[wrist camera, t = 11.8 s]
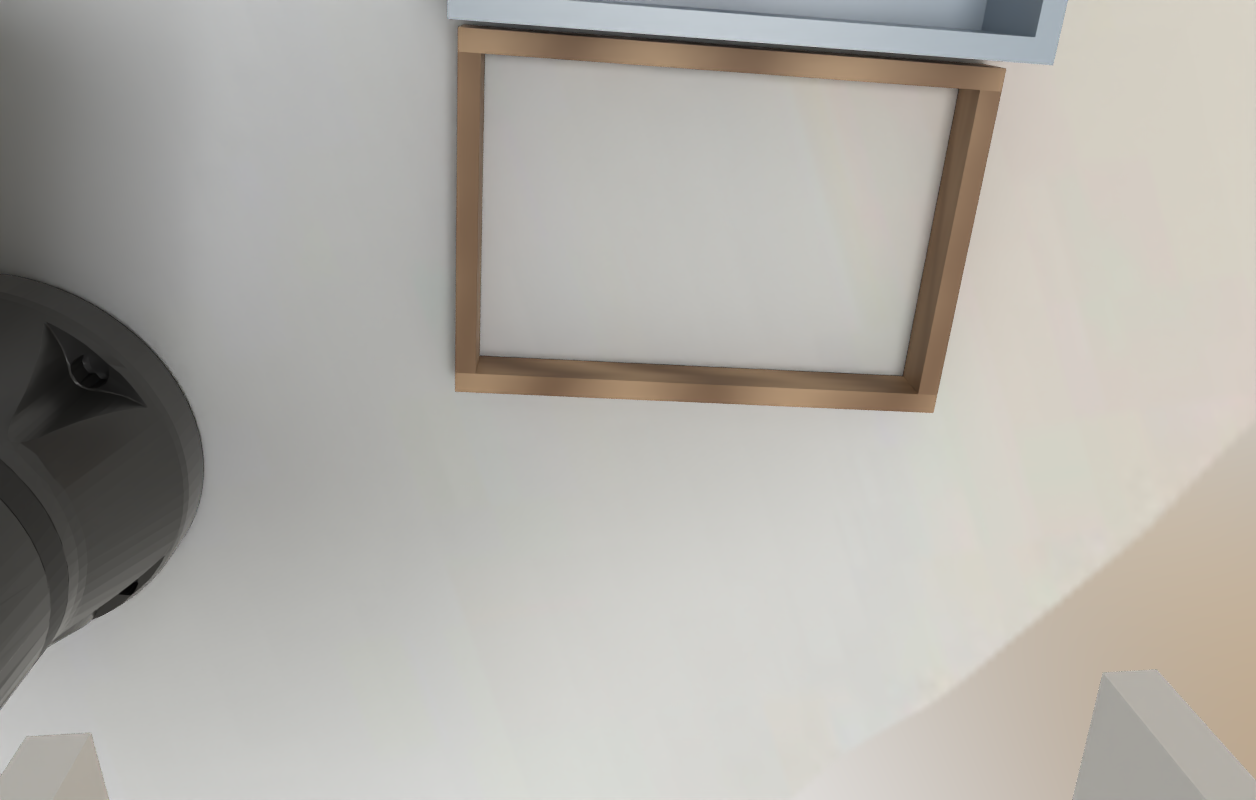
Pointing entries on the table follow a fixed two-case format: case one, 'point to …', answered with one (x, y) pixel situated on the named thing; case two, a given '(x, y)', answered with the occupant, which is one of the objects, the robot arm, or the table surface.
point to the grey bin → (810, 23)
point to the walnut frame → (718, 383)
